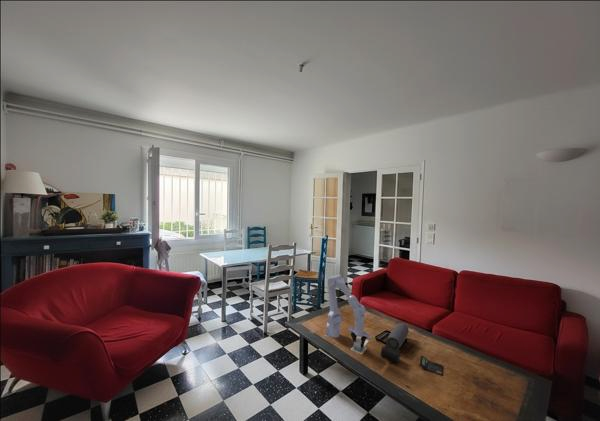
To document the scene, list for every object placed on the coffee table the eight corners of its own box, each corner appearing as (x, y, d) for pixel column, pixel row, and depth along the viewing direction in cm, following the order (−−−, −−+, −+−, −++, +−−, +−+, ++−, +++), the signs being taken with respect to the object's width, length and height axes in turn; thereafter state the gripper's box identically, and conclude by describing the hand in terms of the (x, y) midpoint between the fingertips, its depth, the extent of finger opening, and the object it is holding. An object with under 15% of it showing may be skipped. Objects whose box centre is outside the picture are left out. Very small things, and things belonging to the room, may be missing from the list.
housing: (353, 348, 157) (354, 341, 157) (357, 344, 162) (357, 337, 162) (360, 351, 154) (360, 343, 154) (364, 347, 159) (364, 339, 159)
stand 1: (353, 343, 165) (353, 341, 165) (357, 338, 172) (357, 336, 172) (364, 348, 161) (364, 346, 161) (368, 342, 167) (369, 340, 167)
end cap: (380, 359, 150) (380, 348, 150) (384, 353, 156) (384, 343, 156) (397, 366, 144) (397, 355, 144) (400, 360, 150) (401, 349, 150)
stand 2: (350, 351, 157) (350, 349, 157) (355, 345, 163) (355, 343, 163) (361, 356, 152) (362, 354, 152) (366, 350, 159) (366, 347, 159)
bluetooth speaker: (400, 354, 155) (401, 339, 154) (385, 348, 161) (386, 334, 160) (409, 338, 173) (409, 324, 172) (395, 333, 179) (396, 320, 178)
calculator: (442, 376, 137) (442, 371, 137) (419, 368, 143) (419, 363, 143) (442, 366, 145) (442, 361, 145) (420, 359, 151) (421, 354, 151)
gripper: (346, 323, 158) (345, 344, 159) (367, 331, 149) (367, 352, 150) (350, 319, 164) (350, 339, 164) (372, 326, 155) (371, 347, 156)
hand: (358, 345), depth 158 cm, fingers closed on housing, 4 cm apart
